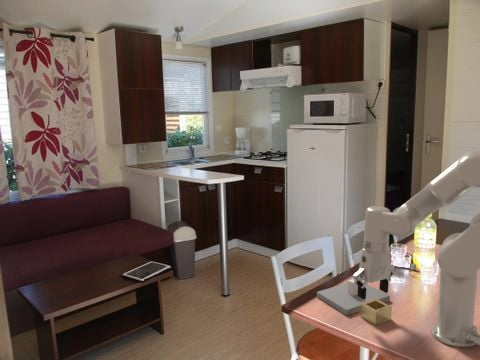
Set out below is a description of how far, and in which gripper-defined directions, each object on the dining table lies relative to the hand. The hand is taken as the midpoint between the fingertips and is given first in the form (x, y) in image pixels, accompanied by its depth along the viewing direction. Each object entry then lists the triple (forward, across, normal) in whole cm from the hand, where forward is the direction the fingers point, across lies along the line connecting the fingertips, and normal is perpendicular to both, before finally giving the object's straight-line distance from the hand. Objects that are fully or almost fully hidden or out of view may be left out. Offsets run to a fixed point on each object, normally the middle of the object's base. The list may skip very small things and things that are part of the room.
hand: (372, 294), depth 136 cm
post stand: (+8, +4, +13) cm, 16 cm away
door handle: (+9, +43, +29) cm, 52 cm away
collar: (+8, +1, -1) cm, 8 cm away
